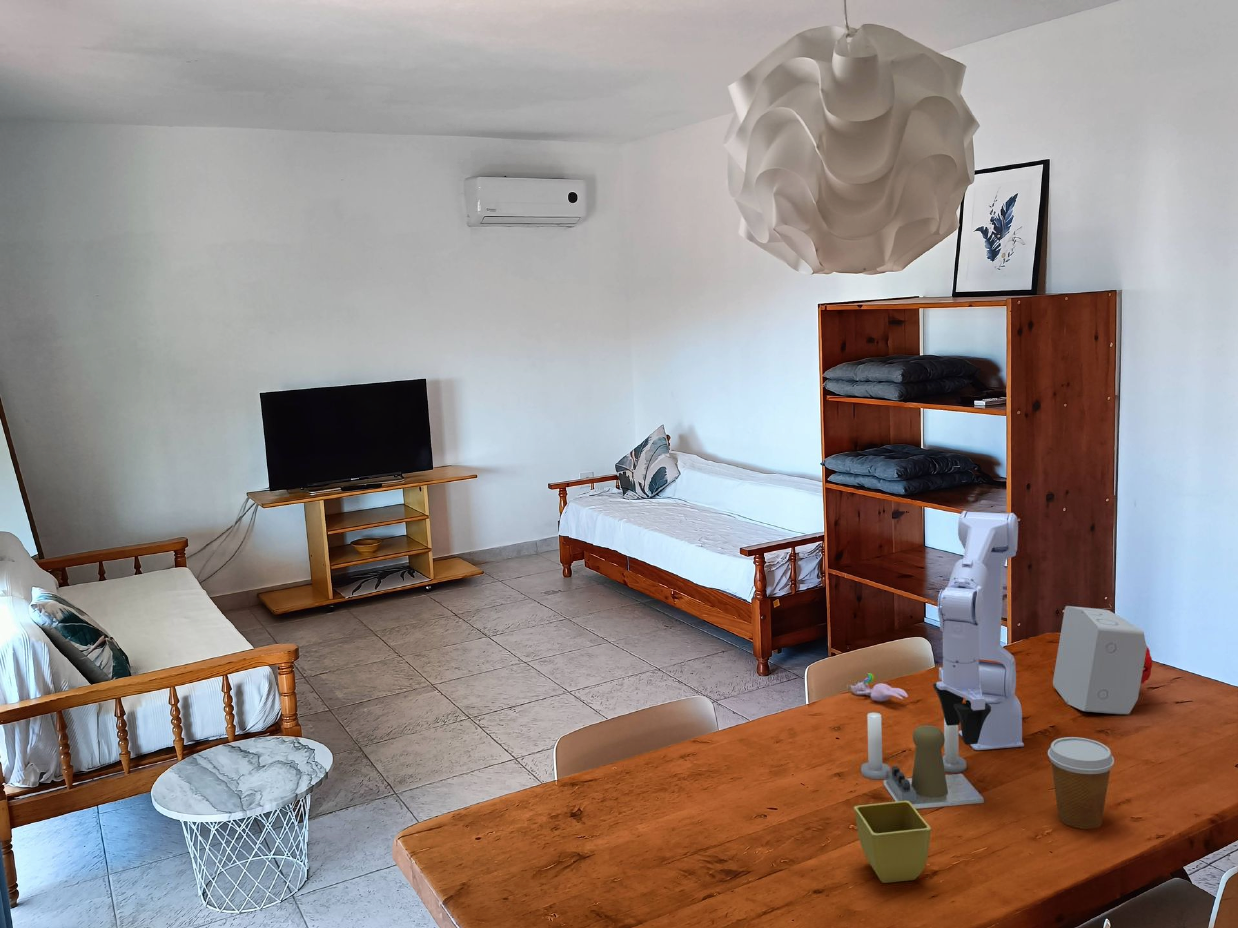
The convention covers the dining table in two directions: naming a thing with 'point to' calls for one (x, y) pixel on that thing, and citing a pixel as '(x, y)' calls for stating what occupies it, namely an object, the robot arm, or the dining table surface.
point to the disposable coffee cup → (1080, 780)
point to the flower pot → (893, 839)
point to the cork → (929, 762)
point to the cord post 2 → (952, 750)
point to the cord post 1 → (874, 750)
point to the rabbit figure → (876, 690)
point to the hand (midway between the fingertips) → (961, 733)
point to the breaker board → (956, 795)
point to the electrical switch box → (1100, 661)
